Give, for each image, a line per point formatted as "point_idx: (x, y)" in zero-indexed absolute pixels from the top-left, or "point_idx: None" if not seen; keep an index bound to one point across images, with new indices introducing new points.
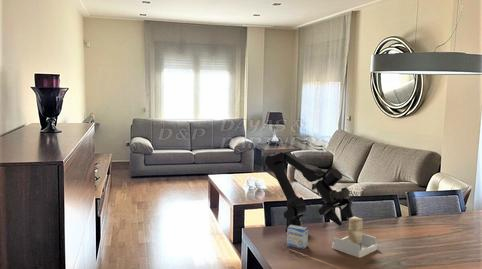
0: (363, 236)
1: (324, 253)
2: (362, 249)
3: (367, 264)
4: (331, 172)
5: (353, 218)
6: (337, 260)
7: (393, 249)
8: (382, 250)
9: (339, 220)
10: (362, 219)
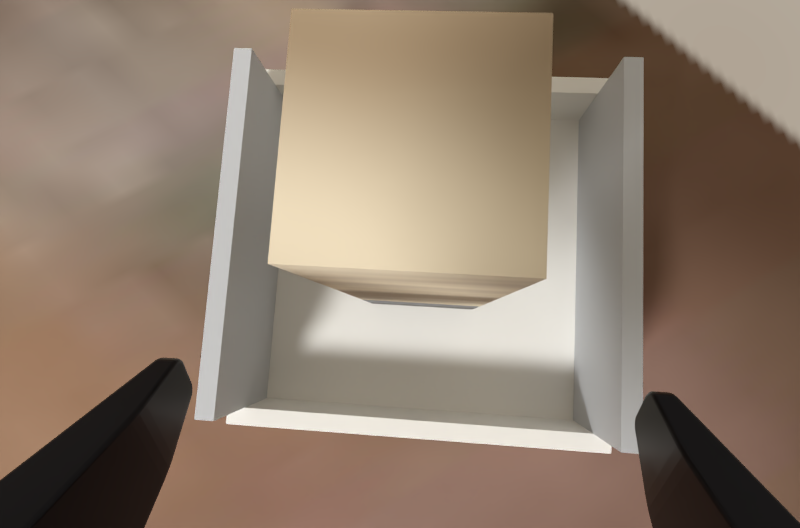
0: (246, 219)
1: (737, 435)
2: None
3: (641, 15)
4: None
5: (455, 186)
6: (783, 244)
7: (147, 22)
8: None
9: (726, 473)
10: (309, 19)
